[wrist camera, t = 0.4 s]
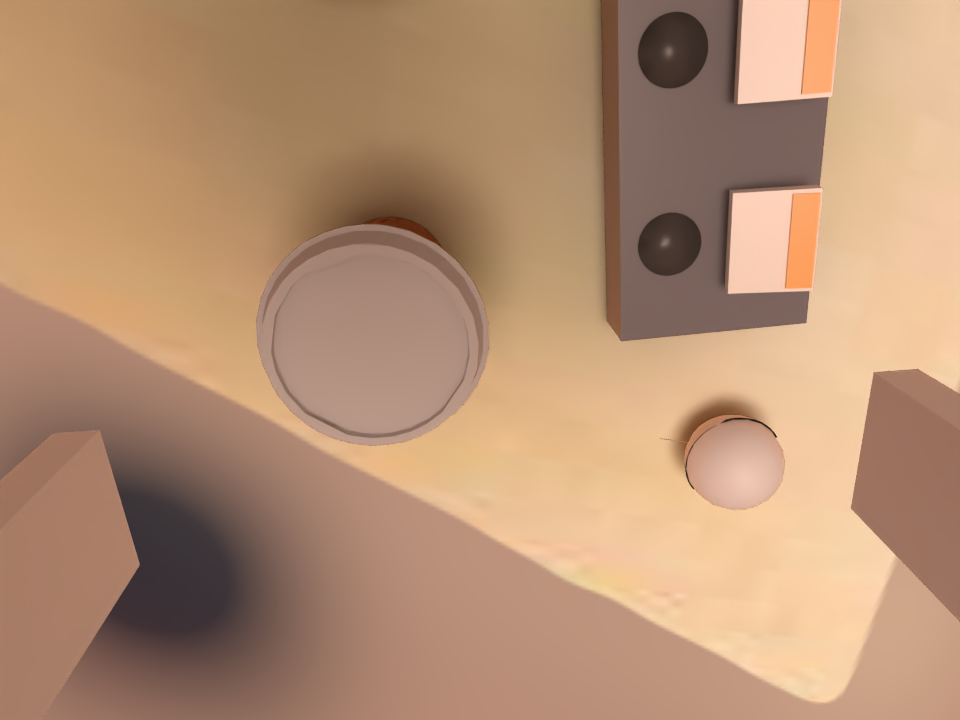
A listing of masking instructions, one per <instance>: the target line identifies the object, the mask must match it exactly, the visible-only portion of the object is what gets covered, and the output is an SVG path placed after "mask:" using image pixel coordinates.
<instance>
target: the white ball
mask: <svg viewBox="0 0 960 720" xmlns="http://www.w3.org/2000/svg"><path fill="white" fill-rule="evenodd" d="M776 437H777V436H776V434H775V433H774V432H773V431H772V430H771V429H770V428H769V427H768V426H767V425H765V424H764V423H762V422H760V421H757V420H755V419H752V418H749V417H746V416H742V415H722V416H718V417H715V418H712V419H710V420H708V421H706V422H705V423H703V424H701V425H700V426H699V427H698V428H697V429H696V430H695V432H694V433H693V434H692V436H691V438H690V440H689V442H687V443H688V444H687V446H686V449H685V457H684V464H685V468H686V476H687V479H688V482H689V484H690V485H691V487H692V488H693V489H695V490H696V492H697V493H698V494H700V495H701V496H702V497H703V498H704V499H705V500H707V501H708V502H710V503H711V504H713V505H716V506H720V507H723V508H727V509H731V510H746V509H749V508H753V507H756V506H758V505H760V504H762V503H763V502H765V501H767V500H768V499H769V498H770V497H771V496H772V495H773V494H774V493H775V492H776V491H777V489H778V487H779V486H780V484H781V482H782V479H783V474H784V466H785V460H784V455H783V450H782V448H781V446H780V444H779V442H778V441H777V439H776ZM660 439H661V438H660ZM666 440H669V439H666ZM672 441H675V440H672ZM679 442H684V441H679Z"/></svg>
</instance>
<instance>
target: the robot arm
mask: <svg viewBox="0 0 960 720" xmlns="http://www.w3.org/2000/svg"><path fill="white" fill-rule="evenodd" d="M851 509H852V510H853V511H854V512H855V513H856V514H857V515H858V516H859V517H860V518H861V519H862V520H863V521H864V523H865V524H866V525H867V526H868V527H869V528H870V529H871V530H872V531H873V532H874V533H875V534H876V535H877V536H878V537H879V538H880V539H881V540H882V541H883V542H884V543H885V544H886V545H887V546H888V547H889V548H890V550H891V551H892V552H893V553H894V554H895V555H896V556H897V557H898V558H899V559H900V560H901V561H902V562H903V563H904V564H905V565H906V566H907V567H908V568H909V569H910V570H911V571H912V572H913V573H914V574H915V575H916V577H918V579H919V580H920V581H921V582H922V583H923V584H924V585H925V586H926V587H927V588H928V589H929V590H930V591H931V592H932V593H933V594H934V595H935V596H936V597H937V598H938V599H939V600H940V602H941V603H942V604H943V605H944V606H945V607H946V608H947V609H948V610H949V611H950V612H951V613H952V614H953V615H954V616H955V617H956V618H957V619H958V620H959V621H960V394H959V393H957V392H955V391H954V390H952V389H950V388H949V387H947V386H945V385H944V384H942V383H940V382H939V381H937V380H935V379H934V378H932V377H930V376H929V375H927V374H925V373H924V372H922V371H920V370H919V369H911V370H898V371H884V372H874V374H873V380H872V386H871V392H870V398H869V404H868V410H867V416H866V422H865V428H864V434H863V440H862V446H861V452H860V457H859V463H858V469H857V475H856V481H855V487H854V493H853V499H852V505H851ZM139 565H140V564H139V561H138V558H137V554H136V551H135V548H134V544H133V541H132V537H131V534H130V531H129V527H128V524H127V520H126V517H125V514H124V510H123V507H122V504H121V500H120V497H119V494H118V490H117V487H116V484H115V481H114V477H113V474H112V470H111V467H110V463H109V460H108V457H107V453H106V450H105V447H104V444H103V440H102V437H101V433H100V431H99V430H93V431H81V432H66V433H53V434H52V435H51V436H50V437H49V438H47V439H46V440H45V441H44V442H43V443H42V444H41V445H40V446H38V447H37V448H36V449H35V450H34V451H33V452H32V453H31V454H30V455H28V456H27V457H26V458H25V459H24V460H23V461H22V462H21V463H20V464H18V465H17V466H16V467H15V468H14V469H13V470H12V471H11V472H10V473H8V474H7V475H6V476H5V477H4V478H3V479H2V480H0V720H42V718H43V717H44V715H45V714H46V712H47V711H48V709H49V707H50V706H51V704H52V703H53V701H54V700H55V698H56V696H57V695H58V693H59V692H60V690H61V688H62V687H63V685H64V684H65V682H66V681H67V679H68V677H69V676H70V674H71V673H72V671H73V670H74V668H75V666H76V665H77V663H78V661H79V660H80V659H81V657H82V655H83V654H84V652H85V651H86V649H87V647H88V646H89V644H90V643H91V641H92V640H93V638H94V636H95V635H96V633H97V632H98V630H99V628H100V627H101V625H102V624H103V622H104V621H105V619H106V617H107V616H108V614H109V613H110V611H111V609H112V608H113V606H114V605H115V603H116V602H117V600H118V598H119V597H120V595H121V594H122V592H123V591H124V589H125V587H126V586H127V584H128V583H129V581H130V579H131V578H132V576H133V575H134V573H135V571H136V570H137V568H138V567H139Z"/></svg>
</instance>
